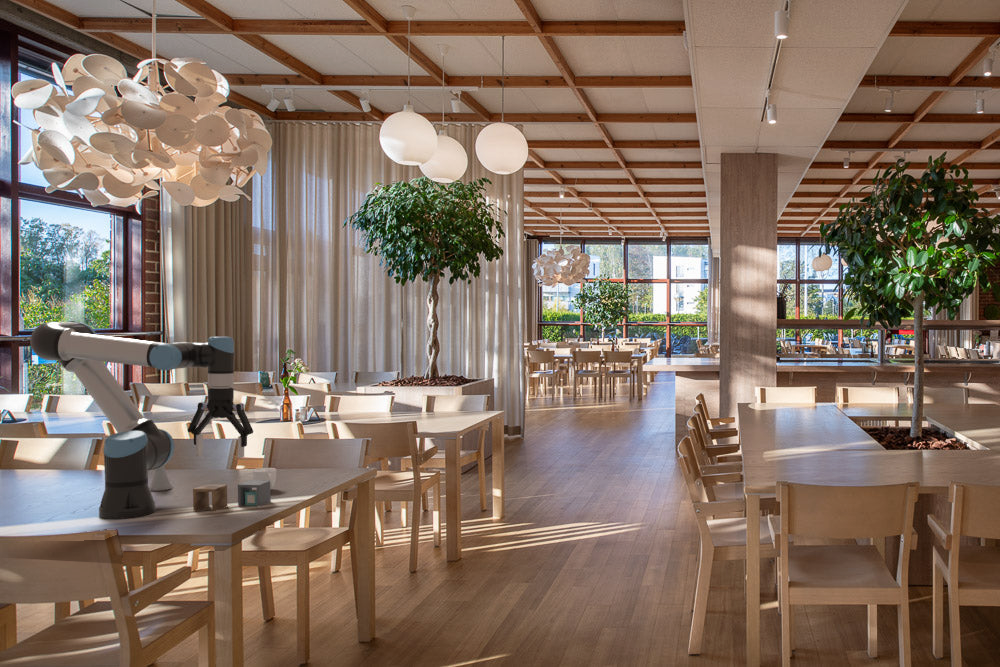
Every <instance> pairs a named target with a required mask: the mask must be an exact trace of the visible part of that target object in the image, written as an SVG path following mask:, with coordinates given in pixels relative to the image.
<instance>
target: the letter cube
mask: <svg viewBox="0 0 1000 667" xmlns="http://www.w3.org/2000/svg"><path fill="white" fill-rule="evenodd" d="M244 505H245V506H257V489H252V490H249V491H247V492H245V504H244Z"/></svg>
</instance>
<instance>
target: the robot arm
mask: <svg viewBox="0 0 1000 667" xmlns="http://www.w3.org/2000/svg"><path fill="white" fill-rule="evenodd" d="M29 340H30V341H29V343H30V347H31V350H32V351H33V353H34V354H35V355H36V356H38V357H39V358H41V359H43V360H46V361H58V362H59V363H60V364H61V366H62V367H63V368H64V370H65V371H66V372H69V373H74V375H75V376H76V378H78V380H79V382H80V383H81V384H82V385H83V387H84V388H85V390H86V391H87V393H88V394H89V395H90V397H91V398H92V399H93V401H94V402H95V403H96V405H97V406H98V408H99V409H100V410H101V412H102V413H103V415H104V416H105V417H106V419H107V420H108V422H110V424H111V425H112V427H113V429H115V431H116V433H113V434H110V435H108V436H107V437H106V438H105V439H104V443H103V444H104V445H103V446H104V447H103V450H102V452H103V459H104V460H103V463H104V491H103V494H102V498H101V501H100V504H99V507H98V517H99V518H102V519H110V520H113V519H116V520H117V519H130V518H138V517H142V516H147V515H150V514H152V513H154V512H155V511H156V502H155V501H154V499H153V498H154V497H153V494H152V492H151V491H152V490H150V489H149V488H150V485H149V471H151V470H155V469H157V468H159V467H161V466H162V465H164V464H165V465H166V464H168V462H169V461H171V459H172V457H173V456H174V453H175V442H174V439H173V436H172V435H171V434H170V432H168V431H167V430H164V429H161V428H158V426H157V425H156V423H155V422H154V421H153V419H151V418H145V417H144V416H143V414H142V413H141V411H139V409H138V407H137V406H136V405H135V404H134V401H132V399H131V398H130V397H129V395H128V394H127V392H126V391H125V390H124V388H123V387H122V386H121V384H120V383H119V381H118V380H117V379H116V377H115V376H114V375H113V373H112V372H111V371H110V369H109V368H108V367H107V365H106V363H113V364H123V365H129V366H140V367H145V368H146V367H148V368H154V369H156V370H160V371H172V370H178V369H184V368H185V369H186V368H207V386H208V389H207V403H206V402H205V401H202V402H201V401H200V402H198V403H197V406H196V407H197V408H196V412H194V413H195V414H194V416H193V418H192V420H191V422H190V423H189V426H188V428H187V432H188V433H191V434H192V435H193V445H194V446H195V457H201V456H203V455H204V434H203V433H202V432H203V430H204V429H205V428H206V427H207V425H208V424H209V423H210V422H211V420H212V419H213V418H215V419H218V418H221V419H227V420H228V421H229V422H230V424H231V425H232V426H233V427H234V429H235V430H236V431H237V432H238V434H239V436H237V459H242V458H244V457H245V447H248V446H247V445H248V436H249V435H252V434H254V430H253V427H252V424H251V422H250V420H249V418H248V417H247V414H246V412H245V408H244V403H241V402H240V403H235V402H234V390H235V389H234V388H233V387H234V384H235V380H234V379H235V378H234V377H235V372H234V371H235V370H234V368H235V367H234V366H235V344H234V343H235V342H234V341H235V340H234V339H233V337H231V336H210V337H208V339H207V340H208V341H207V342H185V341H178V342H172V343H169V342H160V341H149V340H140V339H135V338H125V337H117V336H116V337H115V336H109V335H100V334H97V333H96V331H95V330H94V328H93V327H91V326H90V325H89V324H87V323H84V322H80V321H74V320H70V321H69V320H68V321H48V322H45V323H41V324H40V325H38V326H37V327H36V328H34V329H33V331H32V333H31V335H30V339H29ZM205 410H208V412H207V413H206V415H205V417H204V418H203V419H202V420H201V418H202V417H203V415H204V412H205ZM234 410H235V411H236V414H237V416H238V418H239V419H238V418H237V417H236V414H235V413H234V412H233V411H234Z"/></svg>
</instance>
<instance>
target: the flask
mask: <svg viewBox="0 0 1000 667" xmlns="http://www.w3.org/2000/svg"><path fill="white" fill-rule="evenodd" d="M165 465H166V464H164V465H162V466H161V467H159V468H157V469H154V474H153V476H152V478H151V479H152V480H151V483H150V485H149V489H150V491H153V492H159V491H160V492H162V491H167V490H172V489H173V485H172V483H171V480H170V479H169V475H168V473H167V470H166V466H165Z"/></svg>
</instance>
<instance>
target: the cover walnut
mask: <svg viewBox="0 0 1000 667" xmlns="http://www.w3.org/2000/svg"><path fill="white" fill-rule="evenodd" d="M210 493H211V505H212V506H211V509H212V512H217V511H219V510H218V509H220V510H221V508H222V509H224V507H225V508H226V506H227V507H228V484H209V483H208V484H203V485H200V486H197V487H194V488H193V489H192V498H193V500H192V502H193V511H194V510H197V511H199V510H201V508H202V509H204V507H205V508H207V507H209V506H210ZM206 506H207V507H206ZM198 509H199V510H198ZM216 510H217V511H216Z"/></svg>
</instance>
